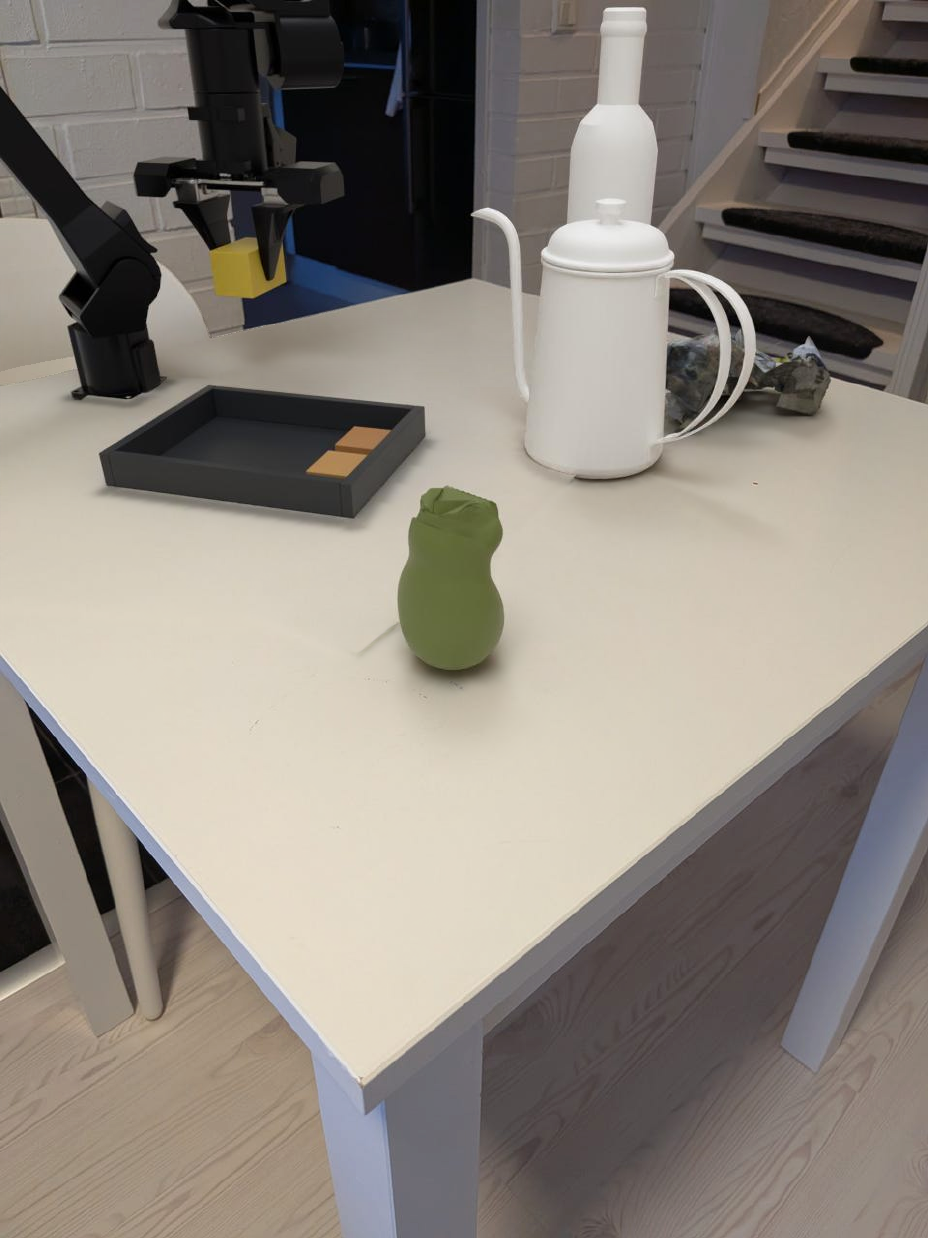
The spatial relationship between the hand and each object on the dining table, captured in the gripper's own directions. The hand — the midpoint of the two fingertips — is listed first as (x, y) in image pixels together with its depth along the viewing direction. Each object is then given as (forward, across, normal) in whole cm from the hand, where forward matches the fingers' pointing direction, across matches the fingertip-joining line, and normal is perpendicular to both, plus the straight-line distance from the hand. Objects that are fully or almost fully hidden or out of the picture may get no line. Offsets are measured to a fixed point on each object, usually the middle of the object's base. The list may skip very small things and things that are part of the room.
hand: (250, 278), depth 88 cm
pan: (+8, -13, +22) cm, 27 cm away
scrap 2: (+8, -20, +20) cm, 29 cm away
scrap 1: (+8, -20, +25) cm, 33 cm away
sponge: (+1, 0, 0) cm, 1 cm away
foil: (+9, -47, 0) cm, 47 cm away
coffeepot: (+9, -36, +13) cm, 39 cm away
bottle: (+9, -33, -10) cm, 35 cm away
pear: (+9, -34, +43) cm, 56 cm away
